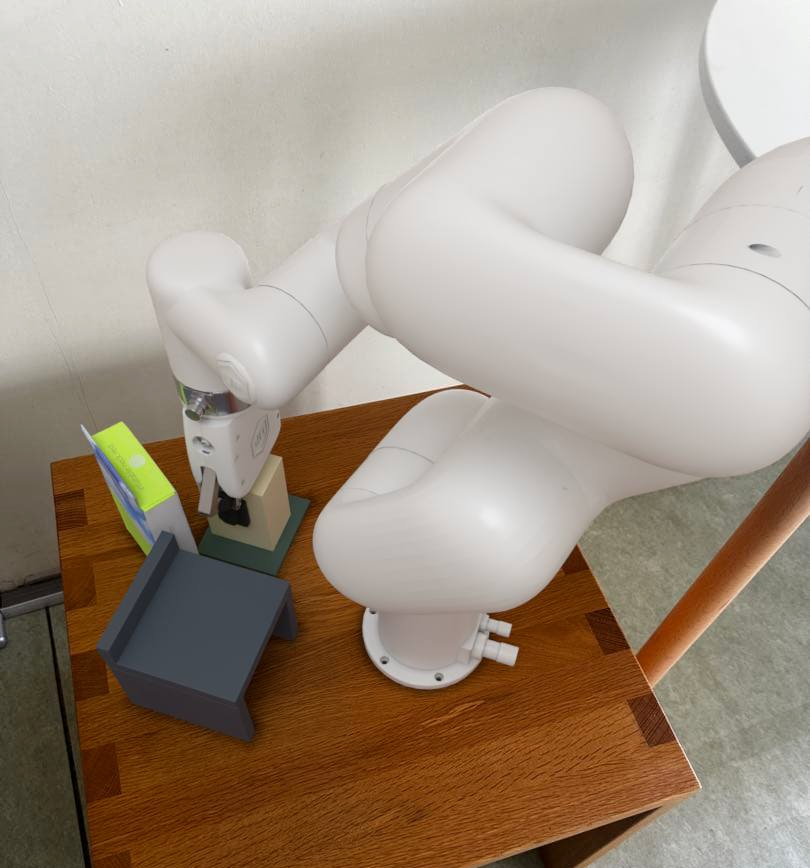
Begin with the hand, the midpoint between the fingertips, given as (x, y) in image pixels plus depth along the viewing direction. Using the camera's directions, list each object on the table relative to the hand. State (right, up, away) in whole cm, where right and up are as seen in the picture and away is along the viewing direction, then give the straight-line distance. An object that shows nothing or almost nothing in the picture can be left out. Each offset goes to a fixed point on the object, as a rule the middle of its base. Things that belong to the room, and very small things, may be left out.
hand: (246, 498), depth 85 cm
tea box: (0, -3, +4) cm, 5 cm away
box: (-9, -6, +2) cm, 11 cm away
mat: (0, -3, +4) cm, 5 cm away
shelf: (-2, -17, -4) cm, 17 cm away
